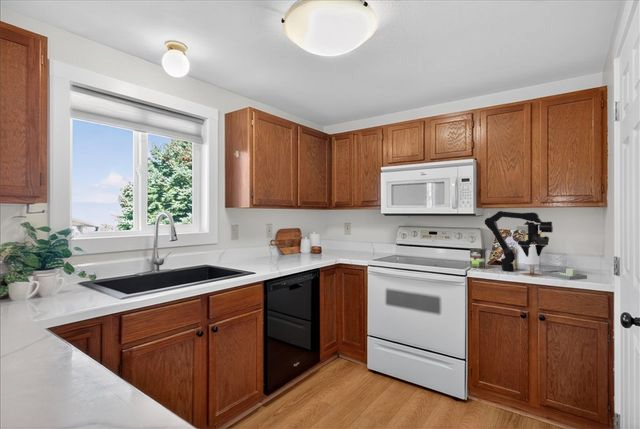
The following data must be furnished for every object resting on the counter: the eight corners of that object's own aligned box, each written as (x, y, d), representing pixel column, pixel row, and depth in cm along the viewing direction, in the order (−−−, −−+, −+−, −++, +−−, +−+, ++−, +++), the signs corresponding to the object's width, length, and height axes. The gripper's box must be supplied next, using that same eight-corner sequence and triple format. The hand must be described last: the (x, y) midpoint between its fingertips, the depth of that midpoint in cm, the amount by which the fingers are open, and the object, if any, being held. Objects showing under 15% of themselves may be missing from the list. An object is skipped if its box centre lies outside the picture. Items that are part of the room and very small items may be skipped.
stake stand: (517, 275, 210) (517, 264, 210) (531, 274, 213) (531, 263, 213) (533, 278, 199) (533, 266, 199) (547, 277, 202) (547, 266, 202)
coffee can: (482, 270, 227) (482, 250, 227) (467, 268, 235) (467, 248, 235) (488, 268, 234) (488, 249, 234) (473, 266, 242) (473, 247, 242)
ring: (548, 275, 205) (548, 266, 205) (559, 274, 207) (559, 265, 207) (568, 279, 192) (568, 269, 192) (580, 278, 195) (580, 269, 195)
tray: (541, 276, 207) (541, 271, 207) (558, 274, 210) (558, 270, 210) (569, 281, 190) (569, 276, 190) (587, 280, 193) (587, 275, 193)
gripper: (532, 233, 200) (532, 258, 200) (556, 232, 205) (556, 257, 205) (517, 232, 210) (517, 256, 211) (539, 231, 215) (539, 255, 216)
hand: (532, 256), depth 210 cm, fingers open, 9 cm apart
